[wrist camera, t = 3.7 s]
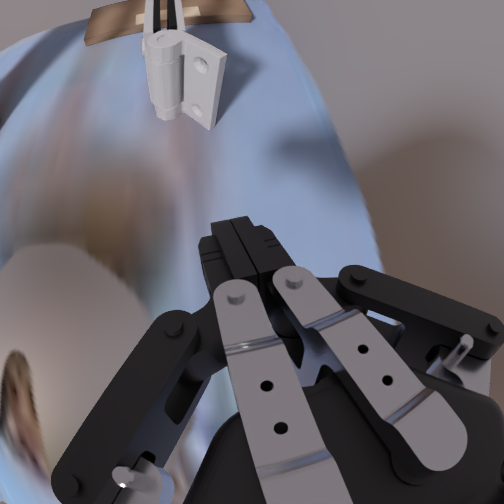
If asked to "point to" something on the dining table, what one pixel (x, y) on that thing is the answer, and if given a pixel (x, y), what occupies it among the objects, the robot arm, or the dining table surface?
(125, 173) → the dining table surface
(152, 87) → the hinge
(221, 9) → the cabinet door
